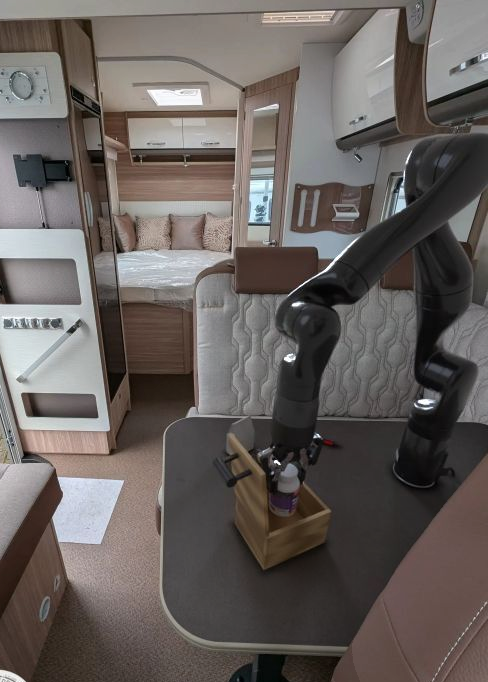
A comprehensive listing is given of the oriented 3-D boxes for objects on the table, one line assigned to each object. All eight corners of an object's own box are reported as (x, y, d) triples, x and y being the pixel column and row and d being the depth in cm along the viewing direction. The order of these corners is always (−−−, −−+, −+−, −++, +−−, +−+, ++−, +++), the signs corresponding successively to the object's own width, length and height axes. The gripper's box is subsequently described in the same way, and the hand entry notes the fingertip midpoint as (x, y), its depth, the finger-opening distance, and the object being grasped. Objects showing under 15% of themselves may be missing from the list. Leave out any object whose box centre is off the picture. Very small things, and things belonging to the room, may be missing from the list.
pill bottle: (295, 520, 70) (301, 482, 65) (267, 515, 71) (271, 477, 66) (295, 498, 74) (301, 462, 70) (269, 494, 75) (273, 458, 71)
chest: (290, 502, 83) (295, 472, 79) (324, 542, 74) (331, 511, 70) (234, 523, 78) (236, 493, 74) (263, 570, 68) (267, 538, 64)
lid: (231, 432, 66) (203, 443, 64) (265, 473, 57) (234, 488, 55) (238, 491, 74) (213, 502, 72) (269, 535, 64) (241, 550, 62)
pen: (337, 448, 101) (338, 444, 100) (273, 426, 110) (274, 423, 109) (338, 446, 102) (339, 443, 101) (275, 424, 110) (275, 421, 110)
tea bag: (253, 448, 100) (255, 418, 96) (235, 458, 96) (237, 428, 92) (243, 441, 103) (245, 412, 98) (226, 451, 99) (227, 421, 94)
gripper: (271, 436, 57) (263, 513, 64) (342, 415, 62) (327, 488, 70) (247, 411, 63) (243, 485, 70) (313, 394, 68) (303, 464, 76)
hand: (285, 486), depth 70 cm, fingers closed on pill bottle, 5 cm apart
